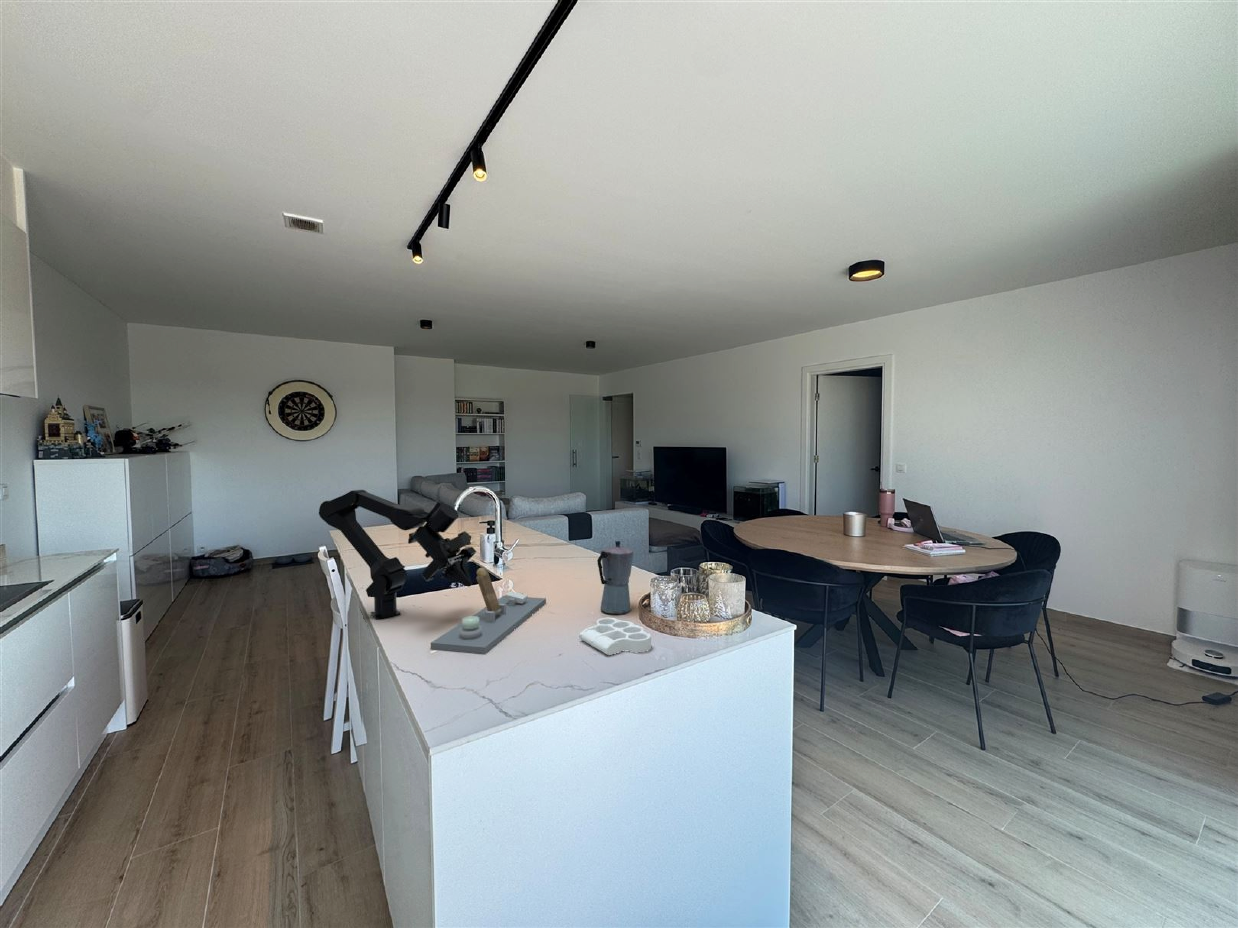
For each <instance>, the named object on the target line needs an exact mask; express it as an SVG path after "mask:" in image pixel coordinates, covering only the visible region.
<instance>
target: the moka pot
mask: <svg viewBox="0 0 1238 928" xmlns="http://www.w3.org/2000/svg"><path fill="white" fill-rule="evenodd" d="M634 554H635V553H634V550H632V548H629V547H624V546H623V547H622V546H621V541H619V540H616V541H615V546H613V547H607V548H603V549H601V551H600V555H599V557H598V558H597V560H596V561H597V567H598V572H599V573H598V574H599V577H600V578H599V579H600V583H601V585H603V591H602V597H601V602H600V611H602V612H604V613H607V614H613V615H617V614H618V615H619V614H621V615H622V614H627V613H629V612H631V611H632V610H631V609H632V607H631V599H630V587H629V586H630V585H629V582H630V577H631V572H632V567H633V566H632V565H633V560H634Z"/></svg>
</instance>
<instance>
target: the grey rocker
mask: <svg viewBox="0 0 1238 928" xmlns="http://www.w3.org/2000/svg"><path fill="white" fill-rule="evenodd" d="M520 593H521V592H515V591H512V590H511V591H508V592H506V593H505V594H504V596H505V600H509V599H510V598H512V599H515V602H517V603H521V604H522V603H524V602H525V601H526V600H527V597H529V596H528V594H524V593H523V594H520Z"/></svg>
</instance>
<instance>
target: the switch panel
mask: <svg viewBox="0 0 1238 928" xmlns="http://www.w3.org/2000/svg"><path fill="white" fill-rule="evenodd" d="M519 593H520V594H524V592H519ZM497 599H498V602H499V605H500V608H501V609H502V613H500V614H499V615H498V616H496V617H495V612H492V611H488V610H487V607H486V606H485V607H484V608H483V609H480V610H479V611H477V612H476V613H474V614H473V615H472V616H477V617H479V627H477V628H474V629H464V628H462V622H461V623H459V624H457V625H456V626H454V627H453V628H451V629H450V630H447V631H446V632H445V633H443V634H442V635H441V636H439V637H437V638H436V639H434V640H432V641H431V642H430V649H431V650H438V651H449V652H457V653H458V652H459V653H461V652H462V653H471V654H481V655H486V654H487V653H488V652H489V651H490V650H492V649H493V648H494V647H495V646H497V644H499V643H500V642H502V640H504V639H505V638H506V637H507V636H509V635H510V634H511V633H512V632H513V631H515V630H516V629H517V628H519V626H521V625H522V624H523V623H524V622H526V621H527V620H528V619H529V618H531V617H532V616H533V615H532V614H533V613H534V614H535V613H536V612H537V611H538V610H540V609H541V608H542V607H543V606H545V605H546V604H547V597H546V598H545V597H544V598H543V597H532V596H531V597H529V596H528V597H527V600H526V601H525V602H524V603H522V604H521V603H517V602H515V599H512V598H510V599H509V600H505V595H503V596H501V597H499V598H497ZM545 603H546V604H545ZM544 604H545V605H544ZM539 608H540V609H539ZM526 619H527V620H526ZM514 629H515V630H514Z"/></svg>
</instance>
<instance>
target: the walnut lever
mask: <svg viewBox="0 0 1238 928" xmlns="http://www.w3.org/2000/svg"><path fill="white" fill-rule="evenodd" d="M475 579H476V581H477V583H478V587H479V589H480V592H481V596H482V598H483V601H484V604H485V607H487V610H488V611H492V612H495V617H496V616H498V615H499V614H500V613H502V609H501V608H500V605H499V602H498V599H499V598H498V596H497V594H496V591H495V589H494V585H493V582H492V580H491V577H490V574H489V571H487V569H486V568H484V567H480V568H478V569H477V570H476V578H475Z"/></svg>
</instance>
